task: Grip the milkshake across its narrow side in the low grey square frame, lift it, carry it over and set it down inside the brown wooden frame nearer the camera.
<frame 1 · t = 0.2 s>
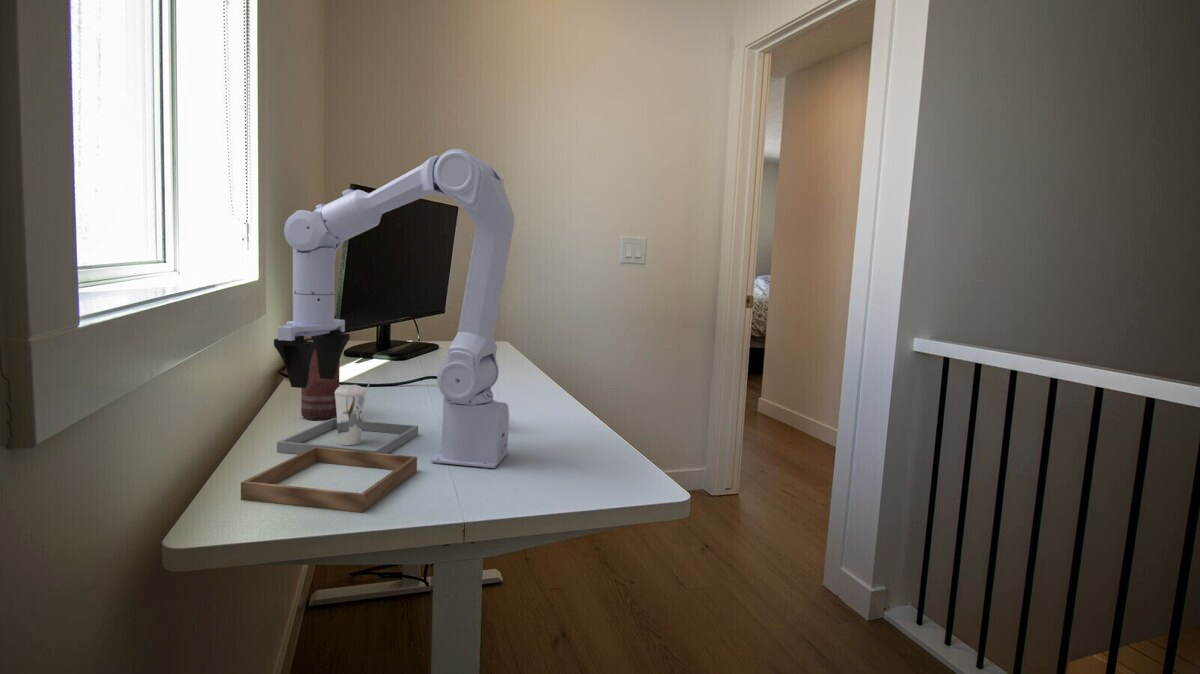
hand: (313, 382, 94), 9 cm above the table, tool pointing down, fingers open, 7 cm apart
grey square frame: (352, 442, 96), on the table
brown wooden frame: (336, 483, 78), on the table
milkshake: (352, 444, 96), resting in grey square frame
can: (320, 417, 110), on the table
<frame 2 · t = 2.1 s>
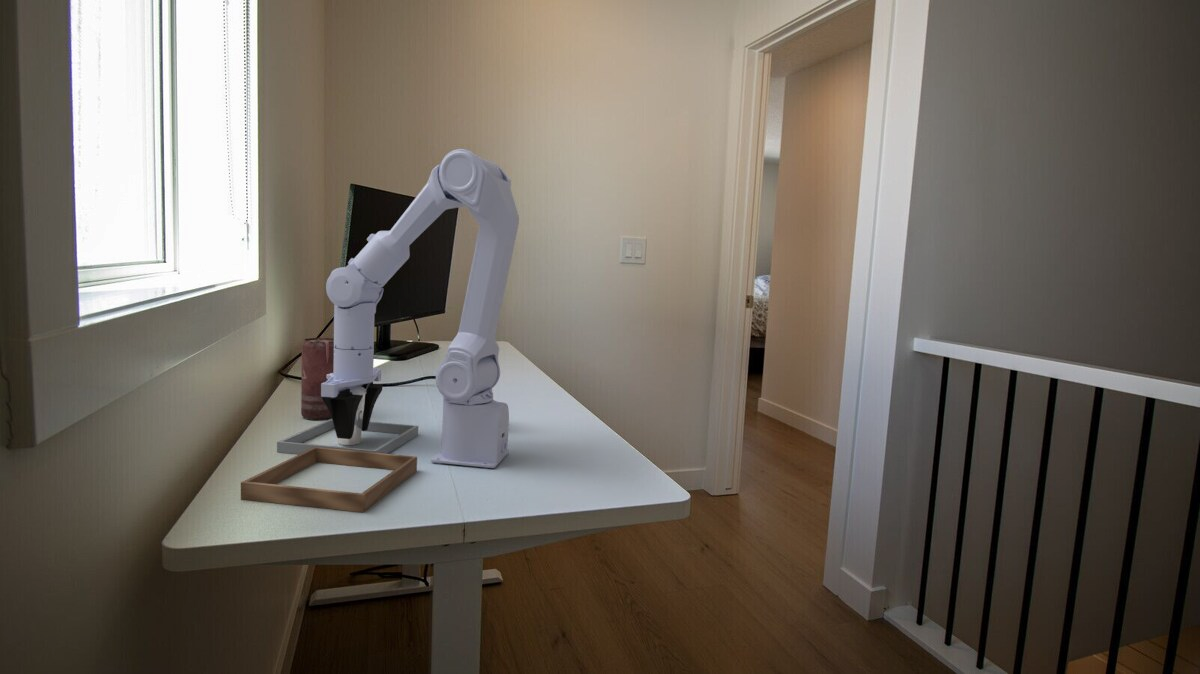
hand: (352, 433, 96), 1 cm above the table, tool pointing down, fingers closed on milkshake, 4 cm apart
milkshake: (352, 444, 96), resting in grey square frame, touching gripper
everything else where it was.
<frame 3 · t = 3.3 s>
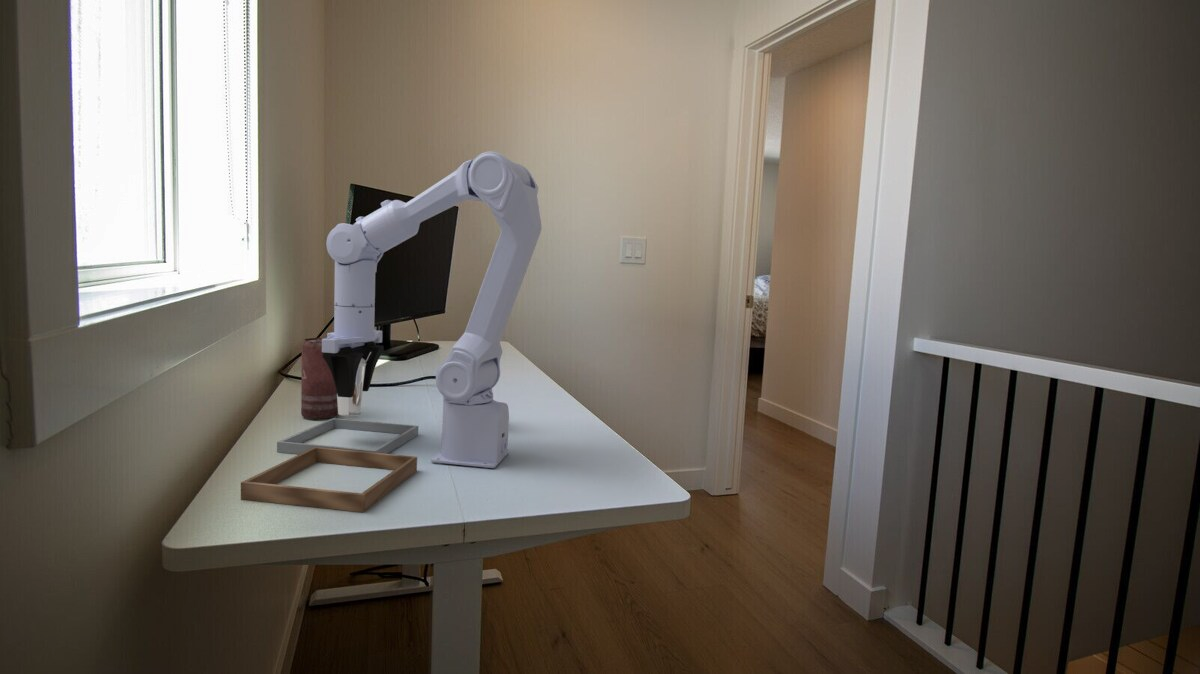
hand: (353, 393, 95), 8 cm above the table, tool pointing down, fingers closed on milkshake, 4 cm apart
milkshake: (352, 415, 96), point 4 cm above the table, touching gripper
everything else where it was.
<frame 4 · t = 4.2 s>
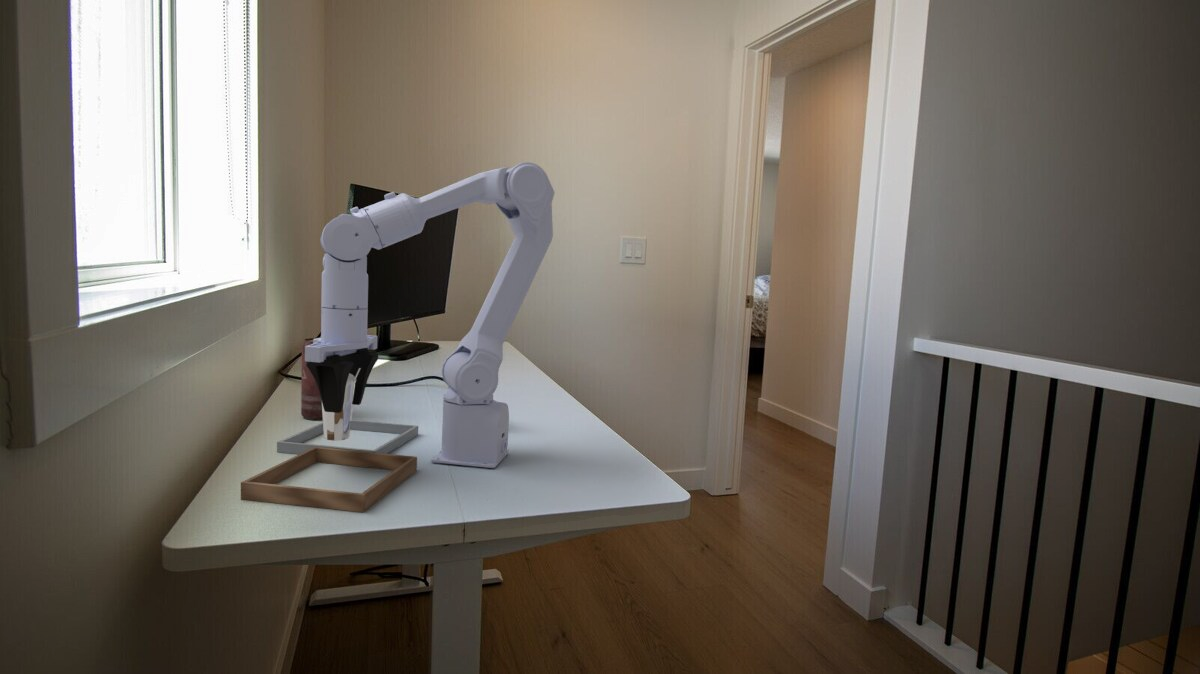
hand: (343, 407, 83), 8 cm above the table, tool pointing down, fingers closed on milkshake, 4 cm apart
milkshake: (339, 439, 84), point 4 cm above the table, touching gripper
everything else where it was.
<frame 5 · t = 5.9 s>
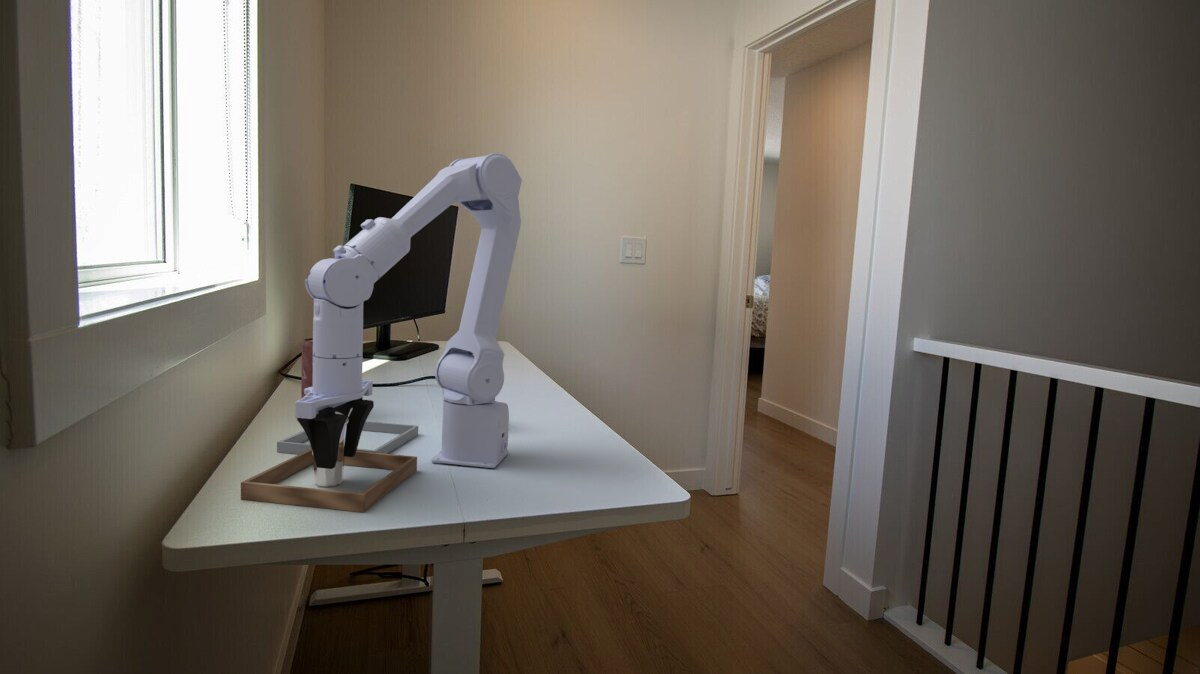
hand: (336, 461, 78), 3 cm above the table, tool pointing down, fingers closed on milkshake, 4 cm apart
milkshake: (332, 484, 78), resting in brown wooden frame, touching gripper
everything else where it was.
when the fingers open (3 cm above the table, at t = 6.6 s): milkshake stays where it is, resting in brown wooden frame.
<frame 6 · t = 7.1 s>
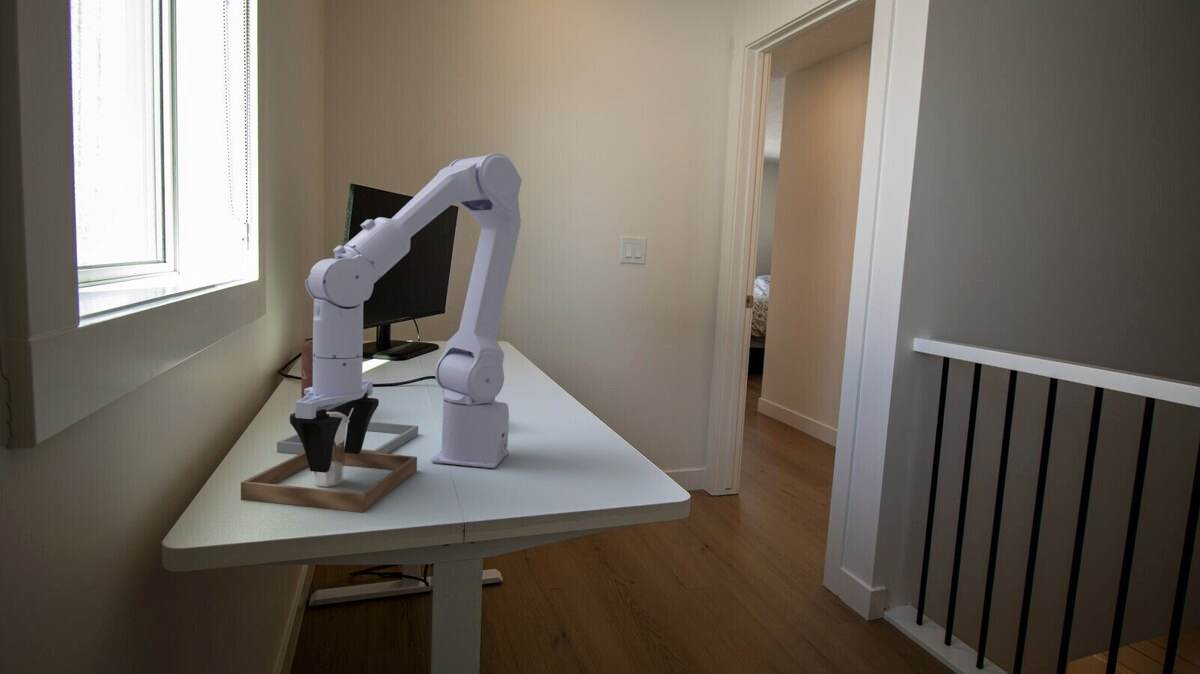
hand: (336, 461, 78), 3 cm above the table, tool pointing down, fingers open, 7 cm apart
milkshake: (331, 484, 78), resting in brown wooden frame
everything else where it was.
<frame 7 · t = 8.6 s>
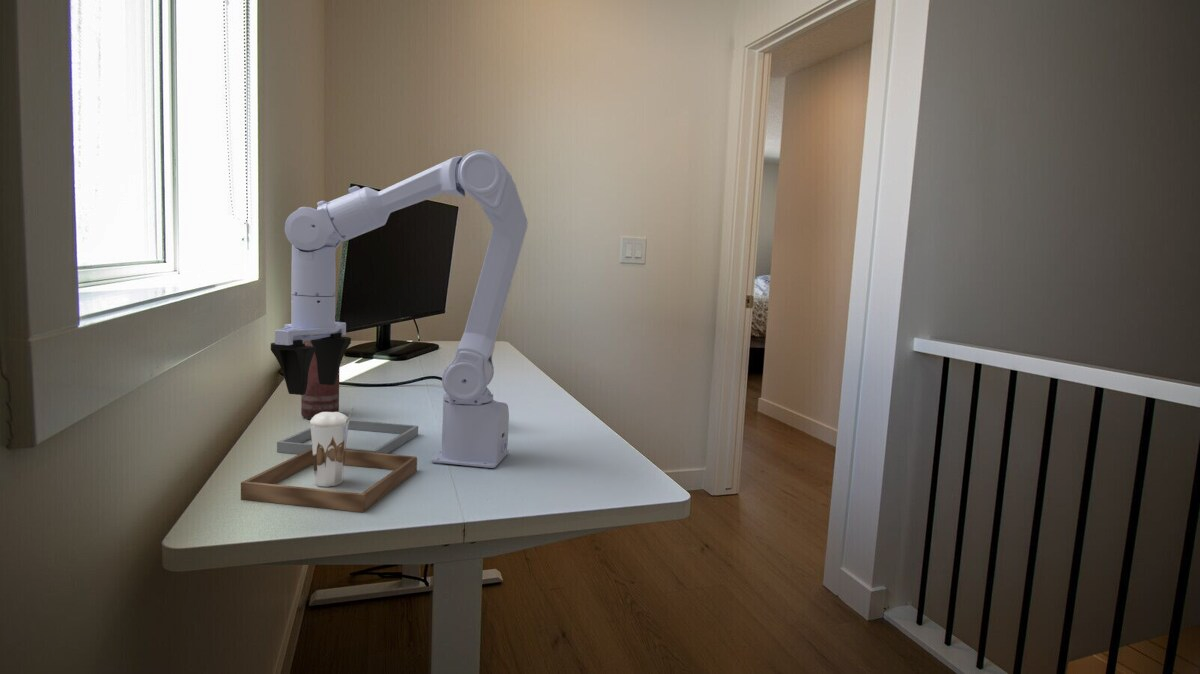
hand: (312, 389, 89), 9 cm above the table, tool pointing down, fingers open, 7 cm apart
nothing on the table moved.
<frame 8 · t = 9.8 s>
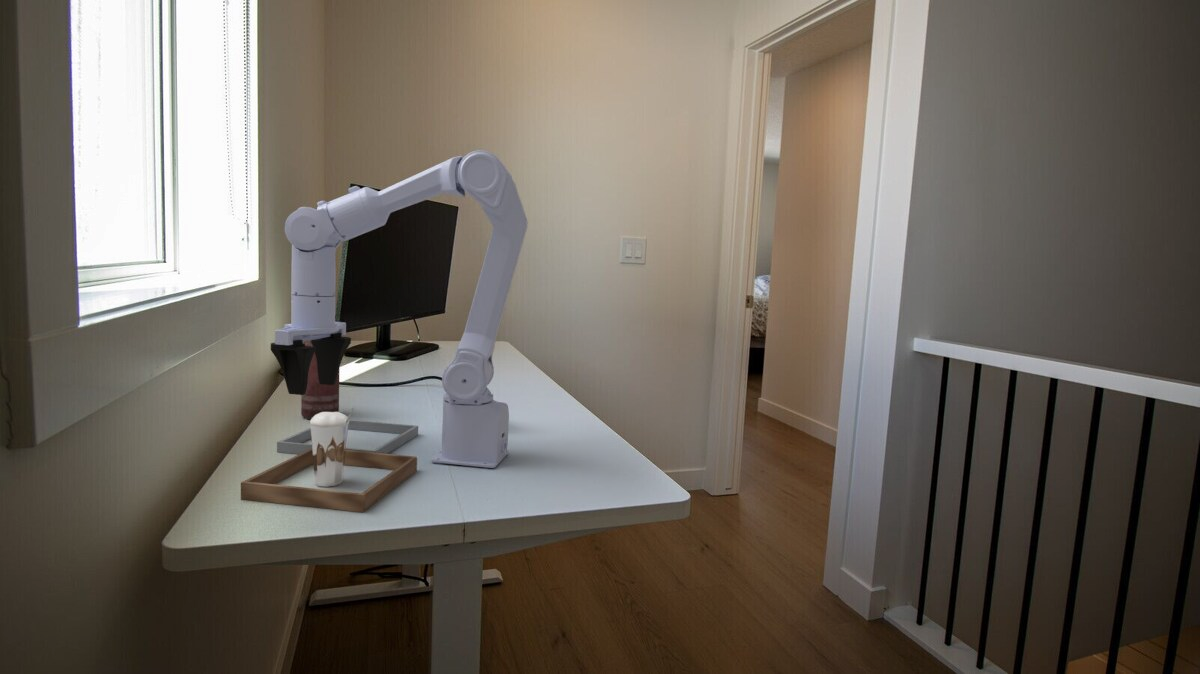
hand: (312, 389, 89), 9 cm above the table, tool pointing down, fingers open, 7 cm apart
nothing on the table moved.
at the end: milkshake inside the target area on the brown wooden frame (0.7 cm from its centre), point 0.0 cm above the brown wooden frame's base; the gripper is holding nothing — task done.
